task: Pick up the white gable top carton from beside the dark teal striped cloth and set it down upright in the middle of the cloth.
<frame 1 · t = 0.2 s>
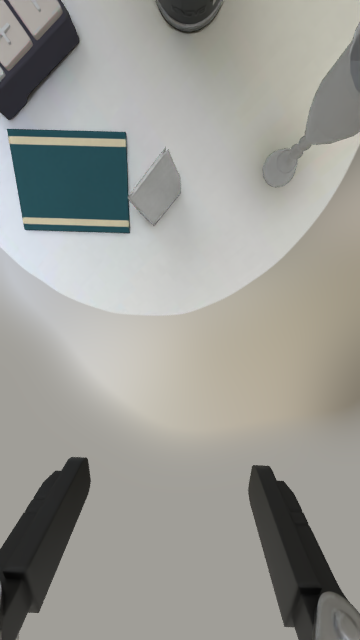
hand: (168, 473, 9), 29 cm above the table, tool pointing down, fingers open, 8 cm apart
chalice: (278, 169, 31), on the table
cloth: (73, 184, 32), on the table
white gable top carton: (158, 201, 32), on the table
calculator: (16, 44, 27), on the table
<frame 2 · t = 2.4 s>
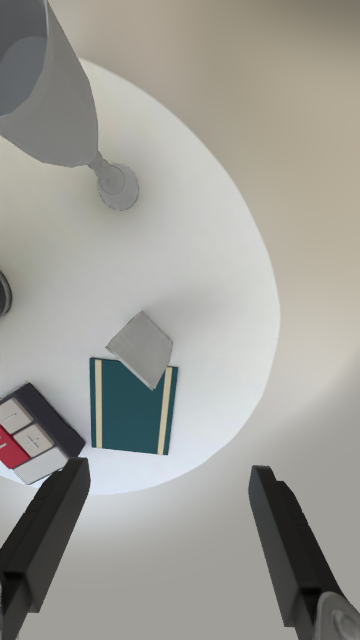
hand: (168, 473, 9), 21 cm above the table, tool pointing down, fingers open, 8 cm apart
chalice: (119, 188, 24), on the table
cloth: (132, 409, 33), on the table
white gable top carton: (149, 334, 30), on the table
calculator: (37, 425, 35), on the table
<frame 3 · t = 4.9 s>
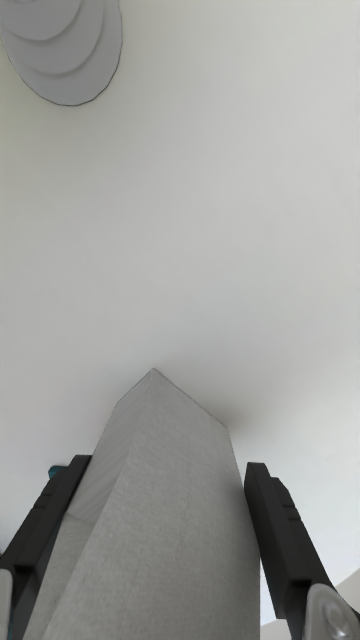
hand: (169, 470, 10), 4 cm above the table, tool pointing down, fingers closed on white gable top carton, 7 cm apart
chalice: (63, 32, 8), on the table
white gable top carton: (173, 413, 13), on the table, touching gripper
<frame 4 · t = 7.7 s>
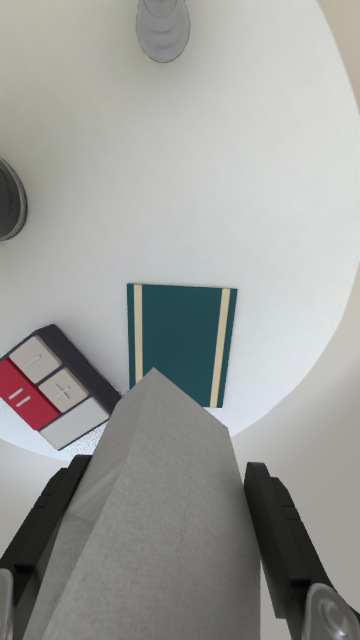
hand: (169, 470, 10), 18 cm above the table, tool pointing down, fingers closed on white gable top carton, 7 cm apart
chalice: (163, 28, 18), on the table
cloth: (178, 350, 27), on the table
white gable top carton: (173, 413, 13), point 14 cm above the table, touching gripper
calculator: (64, 380, 29), on the table
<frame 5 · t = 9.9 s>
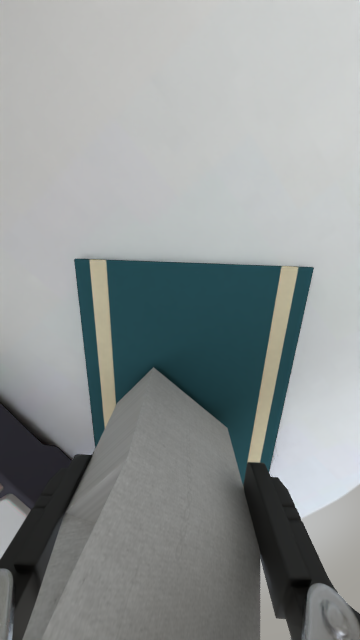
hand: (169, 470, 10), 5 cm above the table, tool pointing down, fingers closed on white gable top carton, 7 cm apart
cloth: (186, 391, 14), on the table
white gable top carton: (173, 413, 13), point 1 cm above the table, touching gripper
when the fingers open (4 cm above the table, at t = 10.9 s): white gable top carton stays where it is, resting on cloth.
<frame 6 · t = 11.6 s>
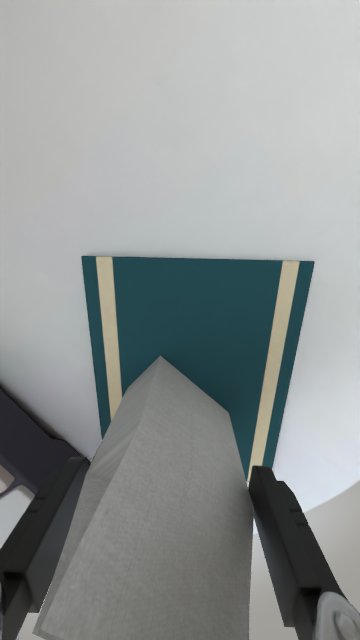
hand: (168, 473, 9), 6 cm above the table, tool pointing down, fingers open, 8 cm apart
cloth: (190, 385, 14), on the table
white gable top carton: (178, 398, 14), resting on cloth, touching gripper
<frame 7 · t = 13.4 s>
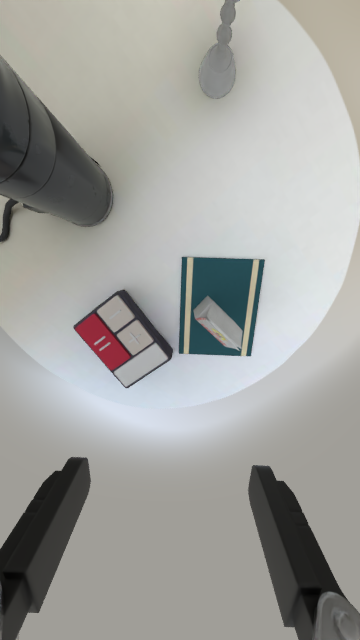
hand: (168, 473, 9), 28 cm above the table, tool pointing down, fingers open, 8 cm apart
chalice: (217, 76, 27), on the table
cloth: (218, 309, 36), on the table
white gable top carton: (213, 314, 36), resting on cloth
calculator: (128, 336, 38), on the table
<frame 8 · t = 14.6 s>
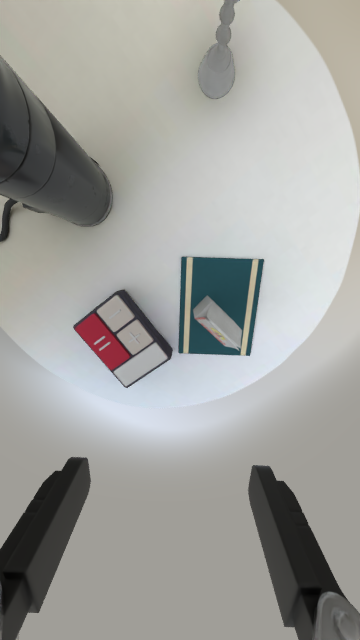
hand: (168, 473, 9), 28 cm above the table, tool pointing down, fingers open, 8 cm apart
chalice: (216, 76, 27), on the table
cloth: (217, 309, 36), on the table
white gable top carton: (212, 314, 36), resting on cloth
calculator: (128, 336, 38), on the table
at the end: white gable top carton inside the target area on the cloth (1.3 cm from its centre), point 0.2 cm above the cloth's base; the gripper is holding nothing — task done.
